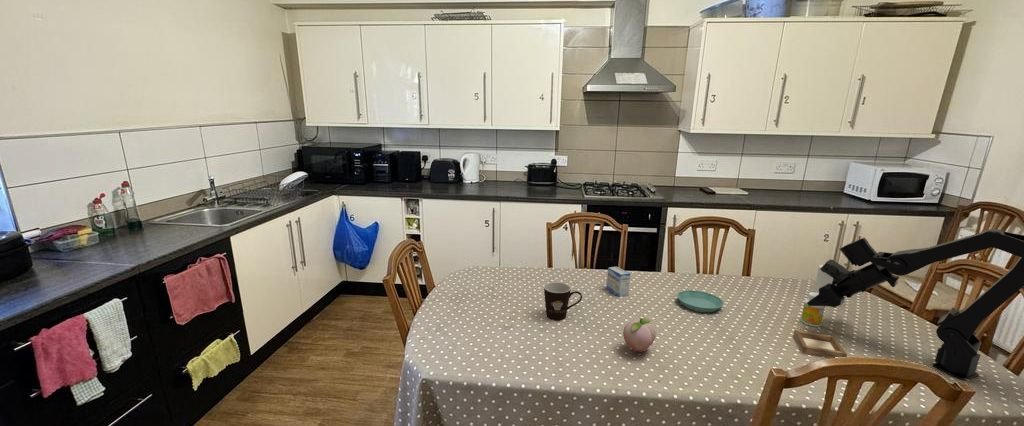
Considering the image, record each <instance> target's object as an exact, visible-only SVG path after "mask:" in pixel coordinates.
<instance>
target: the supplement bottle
mask: <svg viewBox="0 0 1024 426" xmlns="http://www.w3.org/2000/svg"><path fill="white" fill-rule="evenodd" d="M818 294H819V293H816V292H814V291H811V292H809V293H808V296H807V298H806V299H805V300H804V302H803V307H802V313H801V318H800V320H801V322H802V323H803V324H804V325H807V326H810V327H815V328H817V327H821V326H822V323H823V319H824V313H825V309H826V306H809V305H808V304H807V302H808V301H810V300H811V299H813V298H814V297H816V296H817V295H818Z"/></svg>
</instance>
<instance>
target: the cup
mask: <svg viewBox="0 0 1024 426" xmlns="http://www.w3.org/2000/svg"><path fill="white" fill-rule="evenodd" d="M824 264H825V263H824ZM824 264H819V265H818V269H817V273H816V279H815V280H816V281H815V283H814V284H815V285H814V289H813V290H814V291H813V292H816V293H819V288H821V287H822V286H824V285H826V284H828V283H830V284H832V281H833V279H834V278H832V277H831V276H829V275H828V274H826V273H825V272H822V271H821V270H820V269H821V267H822V266H823V265H824Z"/></svg>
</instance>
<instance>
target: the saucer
mask: <svg viewBox="0 0 1024 426" xmlns="http://www.w3.org/2000/svg"><path fill="white" fill-rule="evenodd" d="M676 296H677V299H678V301H679V302H680V303H681V304H682V305H683V306H684V307H685V308H687V309H689V310H692V311H695V312H699V313H712V312H717V310H719V309H721V308H722V307H723V306H724V305H725V304H724V300H722V298H720V297H718V296H716V295H714V294H711V293H708V292H704V291H701V290H689V289H688V290H682V291H679V292H678V293H677V294H676Z"/></svg>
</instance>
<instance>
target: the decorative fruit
mask: <svg viewBox="0 0 1024 426" xmlns="http://www.w3.org/2000/svg"><path fill="white" fill-rule="evenodd" d="M651 322H652V320H651V319H649V318H648V317H640V319H637V318H635V319H632V320H630V321H628V322H627V323H626V324H625V325H624V327H623V329H622V331H623V332H622V335H623V339H624V342H625V343H626V345H627V347H628V348H630V349H631V350H633V351H636V352H639V353H640V352H645V351H646V350H648V349H649V348H650V346H652V345H653V343H654V341H655V340H656V338H657V331H656V328H655V327H654V325H653V324H652V323H651Z"/></svg>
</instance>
